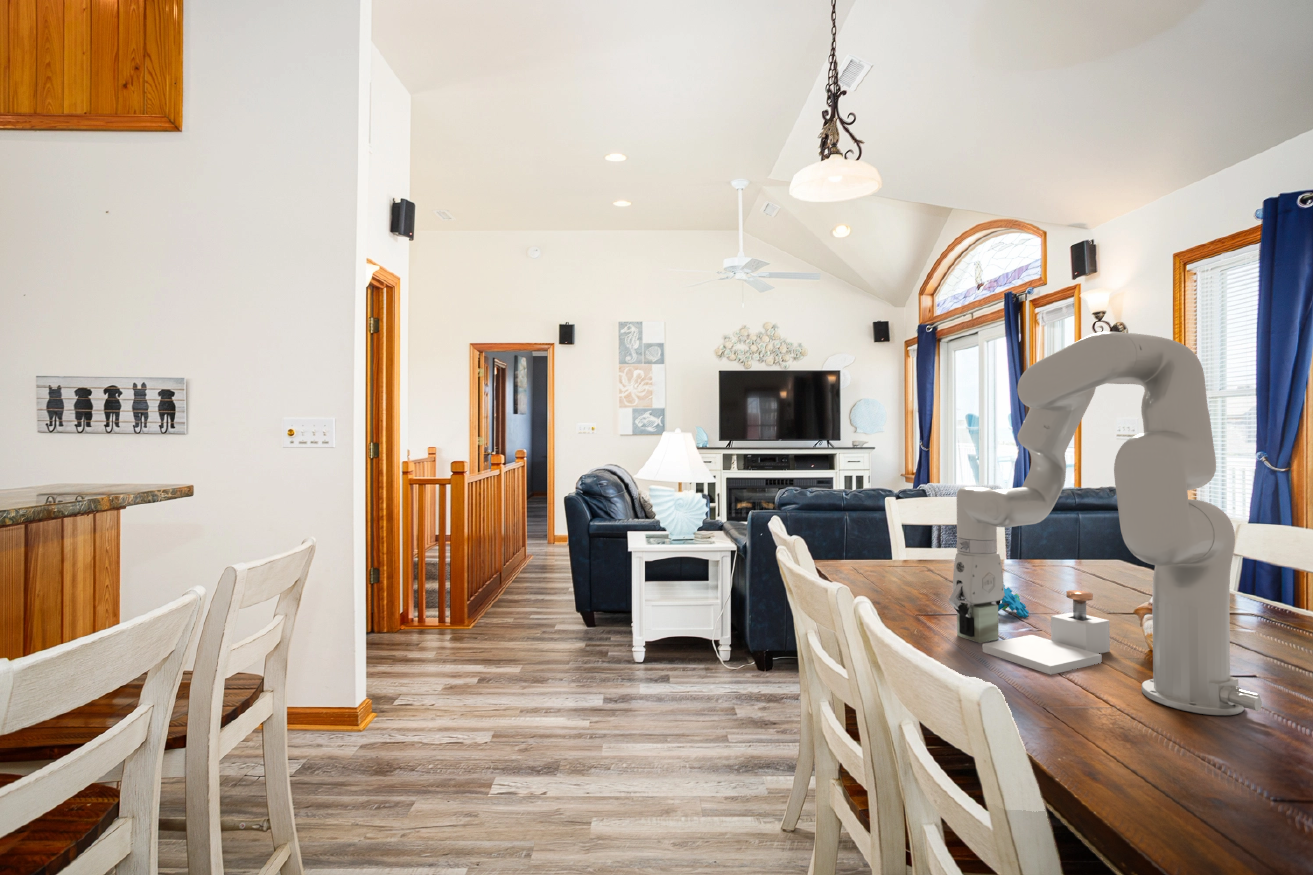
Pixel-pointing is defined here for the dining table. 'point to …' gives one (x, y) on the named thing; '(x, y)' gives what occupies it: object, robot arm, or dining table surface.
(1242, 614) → the dining table surface
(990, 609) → the block
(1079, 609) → the press pin
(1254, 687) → the dining table surface
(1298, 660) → the dining table surface
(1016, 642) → the press bed
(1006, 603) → the gear
